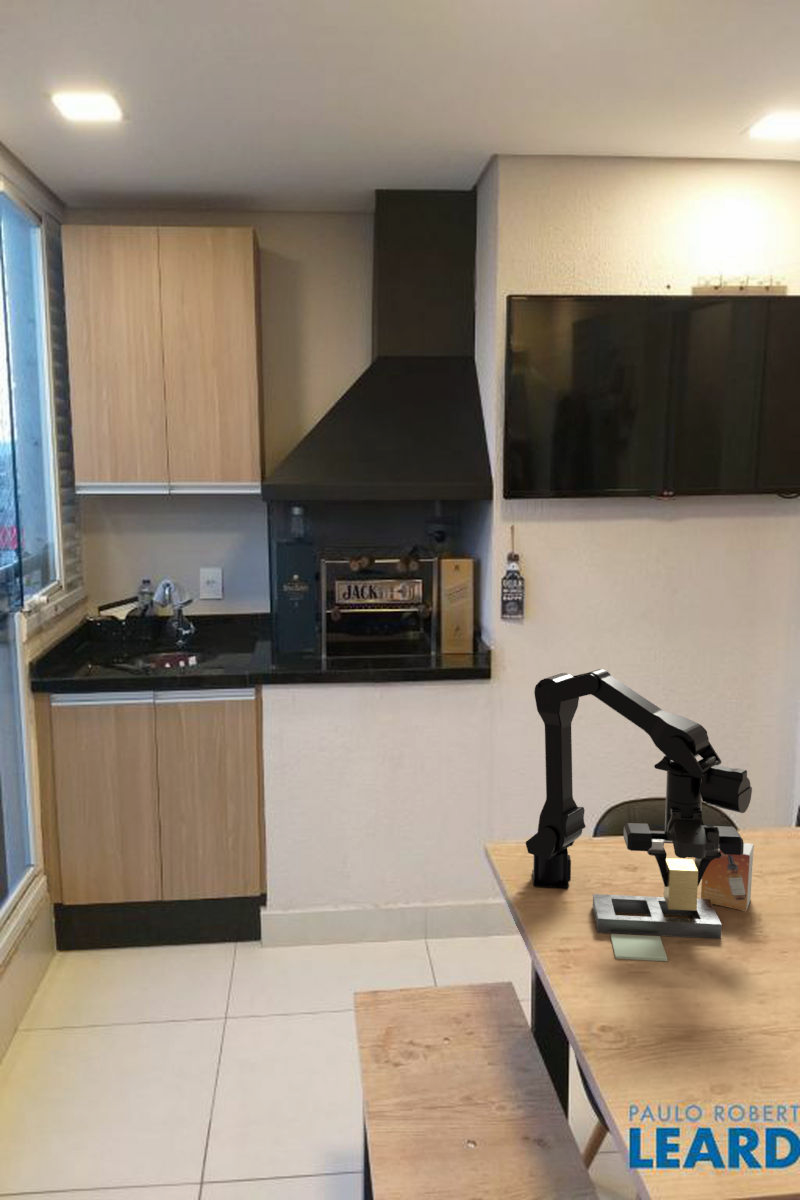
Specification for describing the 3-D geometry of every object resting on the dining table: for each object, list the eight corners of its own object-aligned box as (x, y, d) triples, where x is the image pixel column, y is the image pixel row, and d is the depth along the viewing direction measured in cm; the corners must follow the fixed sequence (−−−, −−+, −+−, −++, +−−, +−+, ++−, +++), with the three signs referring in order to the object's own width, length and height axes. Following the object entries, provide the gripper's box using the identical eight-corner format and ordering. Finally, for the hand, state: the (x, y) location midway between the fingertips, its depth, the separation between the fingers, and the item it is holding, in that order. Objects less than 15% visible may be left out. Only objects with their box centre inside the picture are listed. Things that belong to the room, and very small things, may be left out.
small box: (699, 902, 162) (702, 846, 160) (705, 889, 167) (707, 835, 165) (747, 912, 158) (750, 855, 157) (751, 898, 163) (754, 843, 162)
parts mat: (615, 958, 143) (615, 956, 143) (610, 936, 150) (610, 934, 150) (667, 961, 142) (667, 958, 142) (659, 938, 149) (660, 936, 149)
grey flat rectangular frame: (597, 932, 151) (598, 918, 151) (592, 907, 160) (593, 894, 160) (721, 938, 149) (721, 924, 149) (709, 912, 158) (709, 899, 158)
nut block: (668, 909, 152) (669, 869, 151) (663, 896, 156) (665, 858, 155) (696, 910, 151) (698, 871, 150) (691, 897, 156) (692, 859, 155)
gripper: (633, 814, 144) (630, 906, 146) (754, 818, 142) (750, 911, 144) (624, 790, 155) (622, 876, 157) (736, 793, 153) (732, 880, 155)
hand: (680, 886), depth 153 cm, fingers closed on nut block, 5 cm apart
